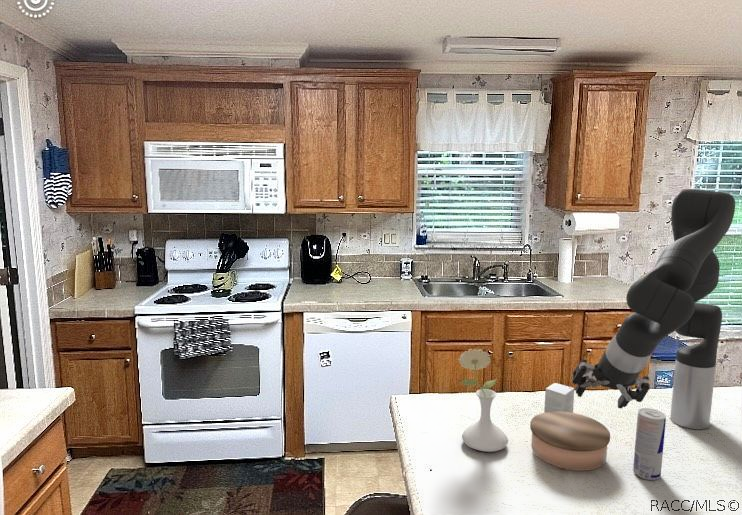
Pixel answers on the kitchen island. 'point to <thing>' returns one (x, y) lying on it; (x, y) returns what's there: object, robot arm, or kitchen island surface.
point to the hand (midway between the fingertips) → (598, 399)
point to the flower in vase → (482, 407)
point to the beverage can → (649, 443)
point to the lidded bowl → (569, 440)
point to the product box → (559, 398)
